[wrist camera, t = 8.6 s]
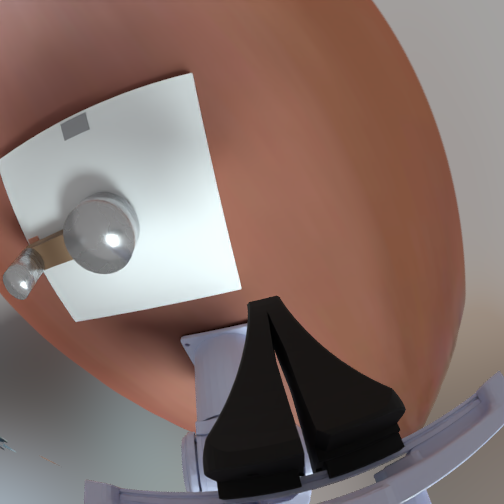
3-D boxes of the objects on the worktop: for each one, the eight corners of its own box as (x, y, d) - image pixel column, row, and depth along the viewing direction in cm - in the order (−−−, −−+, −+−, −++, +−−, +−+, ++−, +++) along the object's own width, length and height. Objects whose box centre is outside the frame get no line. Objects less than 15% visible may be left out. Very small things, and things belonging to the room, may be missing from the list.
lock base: (239, 279, 22) (241, 289, 21) (79, 313, 22) (75, 322, 21) (192, 74, 14) (191, 72, 13) (5, 157, 13) (-4, 161, 12)
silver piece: (123, 181, 15) (101, 206, 12) (150, 247, 18) (140, 285, 14) (16, 231, 15) (-11, 260, 11) (45, 281, 18) (25, 315, 14)
